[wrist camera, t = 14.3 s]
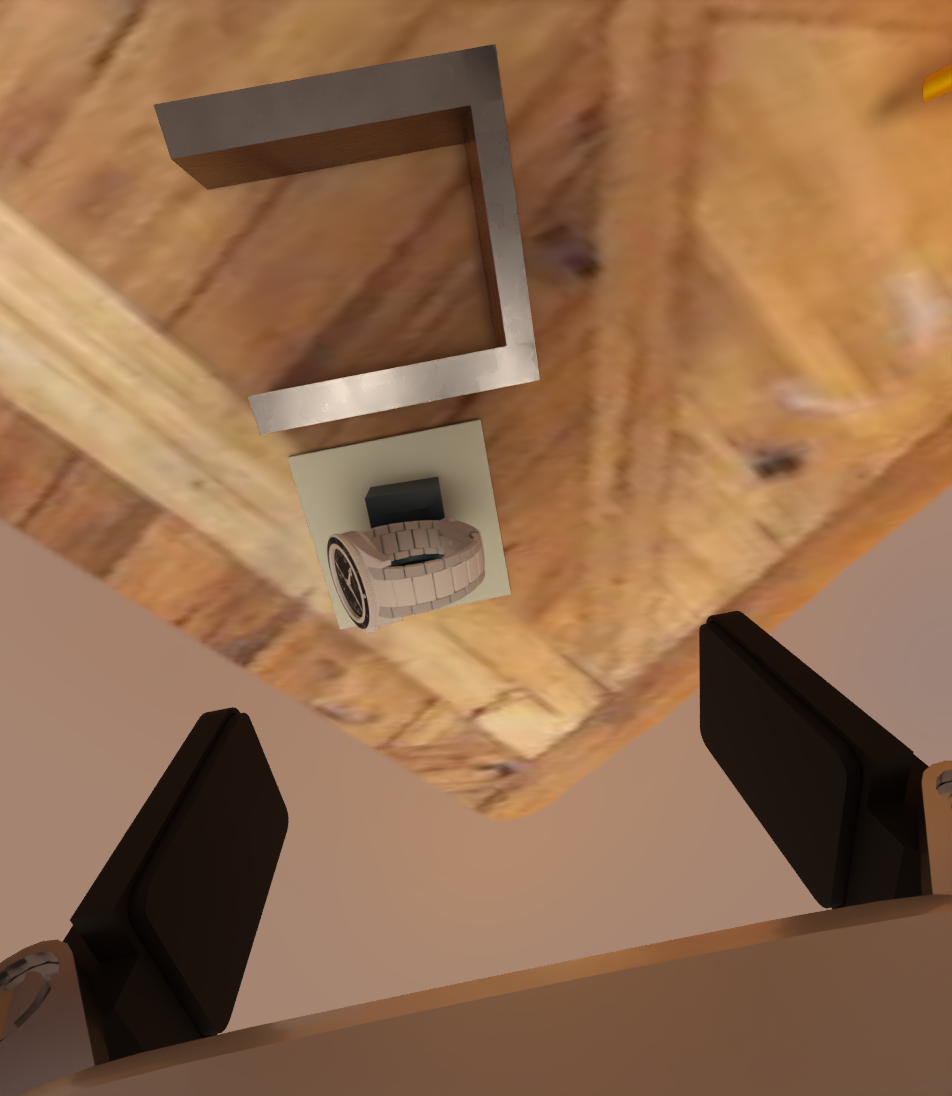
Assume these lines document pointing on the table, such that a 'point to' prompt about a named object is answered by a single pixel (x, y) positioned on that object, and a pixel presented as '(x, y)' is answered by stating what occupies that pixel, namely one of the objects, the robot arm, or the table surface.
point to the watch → (404, 556)
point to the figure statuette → (937, 83)
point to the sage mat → (349, 471)
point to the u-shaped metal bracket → (364, 134)
